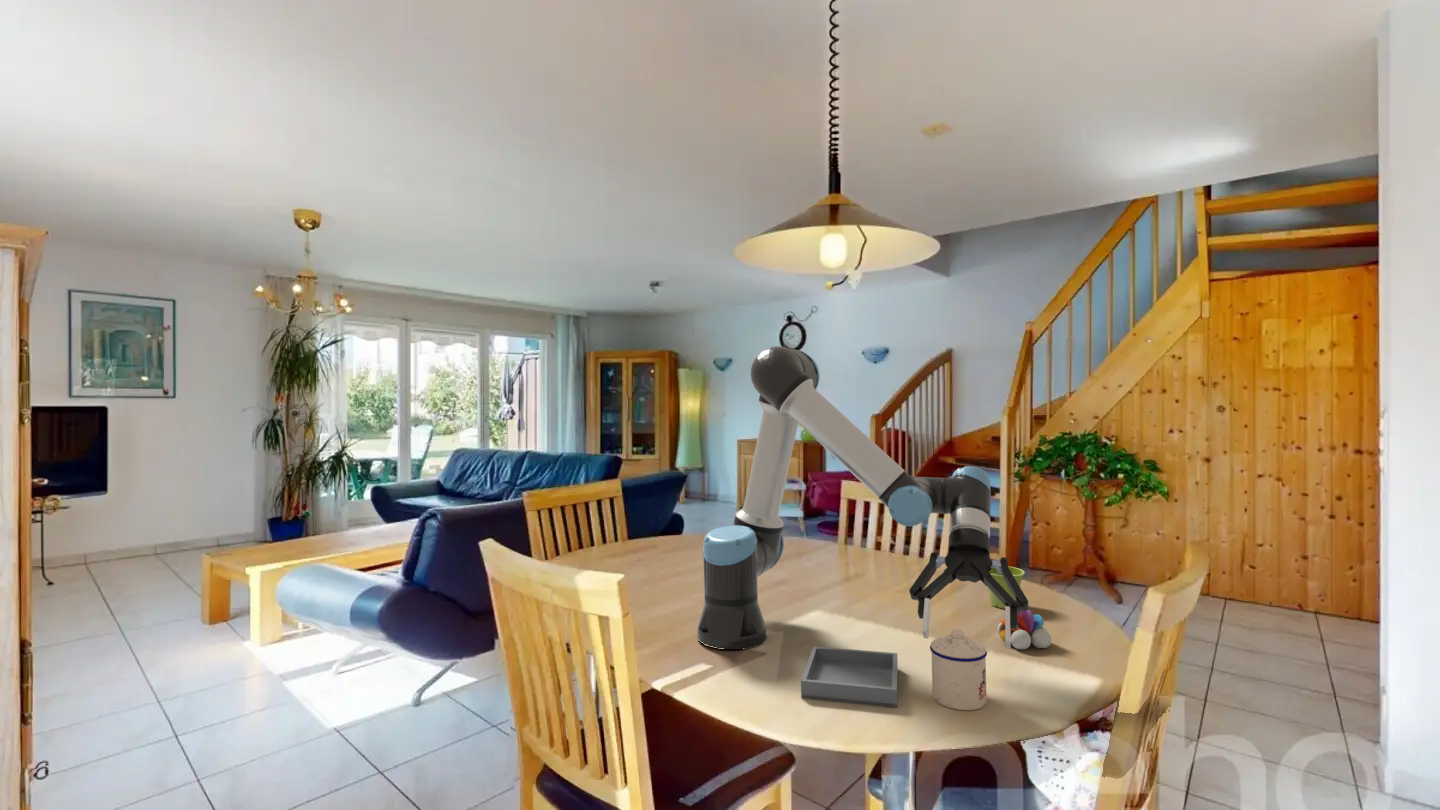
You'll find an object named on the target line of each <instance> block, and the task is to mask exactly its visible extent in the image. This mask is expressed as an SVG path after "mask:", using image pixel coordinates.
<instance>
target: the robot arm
mask: <svg viewBox="0 0 1440 810" xmlns="http://www.w3.org/2000/svg"><path fill="white" fill-rule="evenodd" d="M819 369H820V368H819V366H818V364H817V363H816V361H815V360H814V358H813V357H811V356H810V355H809V354H807V352H804V351H803V350H799V349H797V348H796V349H795V348H788V347H784V346H771V347H767V348H766V349H764V350H762V351H760V353H758V354H757V356H755V358H754V360H753V362H752V365H751V367H750V379H751V383H752V385H753V387H754V389H755V390H756V392H757V393H758V394H759V396H758V404H759V405H760V407H761V408H762V410H763V411H762V414H761V421H760V426H759V430H758V433H757V434H758V435H757V439H756V446H755V449H754V454H753V458H752V464H751V470H750V473H749V478H748V484H747V488H746V493H745V499H744V504H743V507H742V508H741V509H739V510H738V511H736V512H735V515H734V520H733V525H725V526H722V527H717V528H714V529H712V530H710V531H709V532H707V533H706V535H705V536H704V538H703V547H702V557H703V580H704V581H703V583H704V584H703V586H704V587H703V589H704V590H703V591H704V604H703V608H702V611H701V614H700V618H699V621H698V625H697V631H696V632H697V633H696V634H697V640H698V639H699V640H700V641H701V642H703V643H704V644H707V645H709V646H713V647H717V648H724V649H742V650H744V649H743V648H748V649H752V648H755V647H758V646H760V645H762V644H764V642H765V641H767V635H768V634H767V625H766V622H765V619H764V617H763V613H762V610H761V607H760V605H759V601H758V600H759V599H758V578H759V577H760V576H761V575H763V574H765V572H768V571H769V570H771V569H772V568H774V567H775V566H776V565H777V563H778V562H779V560H780V559H781V557H782V555H783V552H784V548H785V541H784V536H783V534H782V533H783V528H784V521H783V520H782V518H781V517H780V512H781V507H782V503H783V497H784V493H785V489H786V482H787V480H788V474H789V468H790V464H791V459H792V454H793V450H794V445H795V440H796V435H797V431H798V426H799V425H800V426H801V427H802V428H803V429H804V430H805V431H806V432H808V433H809V435H810V436H811V437H813V439H815V440H816V441H817V442H818V443H819V444H820V445H821V446H822V447H823V448H824V449H826V450H827V451H828V453H830V454H831V455H832V456H833V457H834V458H835V459H836V460H837V461H838V462H839V463H840V464H841V465H842V466H843V467H844V468H846V469H847V470H848V471H849V472H850V473H851V474H852V475H853V476H854V477H856V479H857V480H859V482H860V483H862V484H863V485H864V486H865V487H866V488H867V489H868V490H869V491H870V492H871V493H872V494H873V495H875V496H876V497H877V498H878V499H879V500H880V501H881V502H882V504H884V505H885V506H886V507H887V508H888V511H889V514H890V516H891V517H892V519H893V520H894V521H895V522H896V523H897V524H899V525H902V526H905V527H915V526H918V525H920V524H922V523H923V522H926V520H928V518H929V517H930V515H931V514H943V515H944V514H945V515H949V529H948V531H949V532H948V533H949V535H948V546H947V554H946V555H945V556H943V555H938V554H937V553H936V552H931V553H930V556H929V561H928V562H927V564H926V565H925V567H924V568H923V570H922V571H921V572H920V574H919V576H918V577H917V578H916V579H915V581H914V583H912V585H911V586H910V588H909V590H908V592H909V595H910V598H911V600H913V601H918V602H917V603H918V606H917V614H918V618H919V619H921V620H922V628H921V629H922V630H921V632H922V636H923V639H926V640H927V639H929V633H930V620H931V610H932V609H931V608H932V605H931V601H930V600H932V599H933V598H934V597H935V596H937V594H939V593H940V592H941V591H943V589H945V588H946V587H947V586H948V585H950V584H952V583H954V582H955V580H958V581H959V582H971V583H978V582H979V581H981V582H982V583H983V585H984V586H985V587H987V589H988V588H989V589H990V590H991V591H992V592H993V593H994V594H995V595H996V596H997V597H998V598H999V600H1000V601H1001V602H1002V603H1003V604H1004V605H1005V609H1004V611H1005V613H1004V614H1005V615H1004V617H1005V618H1004V619H1005V641H1004V642H1005V649H1009V650H1011V649H1012V643H1011V629H1017V627H1018V616H1017V614H1018V613H1020V612H1021V611H1022V610H1023V611H1027V610H1028V609H1029V599H1028V598H1027V597H1026V595H1025V593H1024V591H1023V590H1022V588H1021V585H1020V586H1019V585H1018V583H1017V581H1016V580H1015V578H1014V576H1013V575H1012V573H1011V571H1010V570H1009V568H1008V566H1009V563H1008V559H1007V557H1001V558H1000V559H997V560H995V559H993V560H992V559H991V539H990V538H991V499H992V497H991V496H992V495H991V494H992V492H991V479H990V476H989V475H988V473H987V471H985V470H984V469H982V468H979V467H976V466H972V465H971V466H970V465H968V466H967V465H966V466H964V467H958V468H957V469H956V470H954V472H953V474H952V476H951V477H931V476H930V477H928V476H913V475H910V474H909V473H907V471H906V470H905V469H904V468H902V467H901V466H900V465H899V464H898V462H896V461H895V460H894V459H893V458H891V456H889V455H888V454H887V453H886V452H885V451H884V450H883V449H882V448H880V446H878V445H877V444H876V442H874V441H873V440H872V439H871V438H870V437H868V436H867V434H865V433H864V432H863V431H862V430H860V429H859V427H857V426H856V425H855V424H854V423H853V422H852V421H851V420H850V419H849V418H848V417H846V415H844V414H843V413H842V412H841V411H840V410H838V408H837V407H836V406H834V405H833V403H831V401H829V400H828V399H826V397H824V395H823V394H821V393H820V392H819V391H818V390H817V389H818V386H819V383H820V370H819ZM942 565H945V566H946V567H945V569H944V571H943V572H941V574H940V575H939V576H937V577H936V578H935V579H934V580H933V581H932V582H930V581H931V579H932V577H933V576H934V575H935V573H936V572H937V570H938V569H940V568H941V567H942ZM992 568H996V570H997V571H998V572H999V573H1002V576H1003V578H1004V580H1005V582H1006V584H1007V585H1008V587H1009V589H1010V590H1011V592H1012V594H1013V595H1014V597H1015V599H1016V601H1015V600H1014V599H1013V598H1012V597H1011V596H1010V595H1009V594H1008V593H1007V592H1006V591H1005V590H1004V588H1003V587H1002V586H1001V585H1000V584H999V583H998V582H997V581H996V580H995V579H994V578H993V577H992V575H991V574H990V572H989V571H990V570H991V569H992ZM929 582H930V583H929ZM928 583H929V584H928ZM751 647H752V648H751Z"/></svg>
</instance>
